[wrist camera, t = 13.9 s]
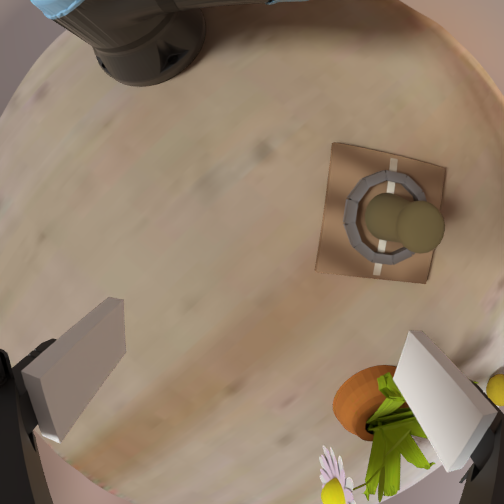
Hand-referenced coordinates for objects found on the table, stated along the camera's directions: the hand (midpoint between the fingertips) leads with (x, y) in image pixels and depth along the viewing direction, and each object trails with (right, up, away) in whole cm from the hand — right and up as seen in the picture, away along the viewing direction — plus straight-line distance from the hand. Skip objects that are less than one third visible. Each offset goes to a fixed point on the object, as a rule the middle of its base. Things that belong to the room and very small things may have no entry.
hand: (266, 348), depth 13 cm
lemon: (+45, -20, +31) cm, 58 cm away
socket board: (+16, +9, +25) cm, 31 cm away
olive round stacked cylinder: (+16, +9, +24) cm, 30 cm away
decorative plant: (+20, -20, +31) cm, 42 cm away
